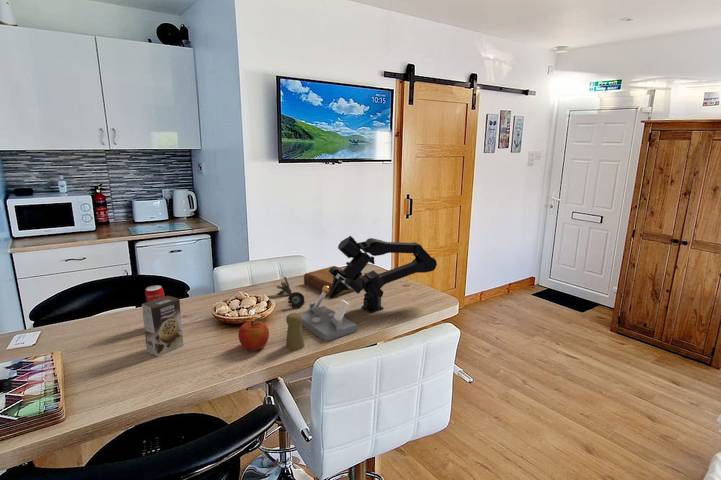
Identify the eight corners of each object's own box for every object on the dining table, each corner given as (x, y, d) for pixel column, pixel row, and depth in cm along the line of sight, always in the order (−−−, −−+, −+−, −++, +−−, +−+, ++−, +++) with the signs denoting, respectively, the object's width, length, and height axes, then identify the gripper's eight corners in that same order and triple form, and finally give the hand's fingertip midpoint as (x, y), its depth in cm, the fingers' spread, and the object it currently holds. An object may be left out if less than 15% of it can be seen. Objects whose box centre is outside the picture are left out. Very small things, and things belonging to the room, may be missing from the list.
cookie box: (158, 357, 125) (152, 308, 121) (146, 351, 128) (140, 303, 124) (184, 345, 132) (180, 298, 129) (172, 340, 136) (167, 294, 132)
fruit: (244, 339, 137) (242, 312, 134) (272, 340, 136) (271, 312, 134) (234, 354, 127) (232, 324, 125) (265, 355, 127) (263, 325, 125)
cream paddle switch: (334, 323, 144) (345, 300, 144) (339, 328, 140) (350, 304, 140) (329, 321, 143) (340, 298, 143) (334, 326, 139) (345, 302, 139)
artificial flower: (285, 313, 162) (277, 290, 160) (278, 299, 183) (271, 279, 181) (307, 304, 164) (299, 282, 162) (297, 292, 185) (290, 272, 183)
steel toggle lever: (314, 311, 154) (329, 286, 155) (317, 314, 152) (333, 288, 152) (308, 308, 153) (323, 283, 154) (311, 311, 150) (326, 285, 151)
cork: (300, 351, 129) (300, 319, 127) (282, 349, 131) (281, 317, 128) (307, 342, 135) (306, 311, 133) (289, 340, 136) (288, 309, 134)
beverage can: (173, 324, 147) (168, 285, 144) (157, 332, 141) (152, 291, 138) (161, 321, 149) (157, 282, 146) (145, 328, 144) (140, 288, 140)
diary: (304, 285, 191) (303, 273, 190) (334, 276, 204) (334, 265, 203) (336, 298, 175) (336, 285, 174) (367, 288, 188) (367, 276, 187)
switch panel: (324, 311, 160) (324, 298, 159) (356, 331, 144) (356, 316, 142) (294, 320, 152) (294, 306, 151) (325, 341, 136) (325, 326, 135)
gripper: (381, 284, 153) (354, 317, 150) (358, 271, 169) (334, 300, 166) (362, 267, 147) (335, 301, 145) (341, 254, 163) (315, 285, 161)
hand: (330, 297), depth 154 cm, fingers closed
